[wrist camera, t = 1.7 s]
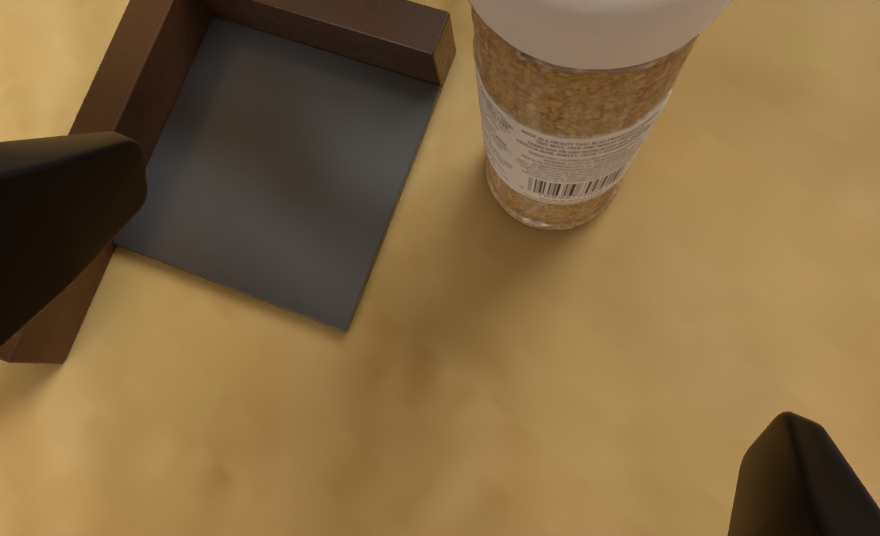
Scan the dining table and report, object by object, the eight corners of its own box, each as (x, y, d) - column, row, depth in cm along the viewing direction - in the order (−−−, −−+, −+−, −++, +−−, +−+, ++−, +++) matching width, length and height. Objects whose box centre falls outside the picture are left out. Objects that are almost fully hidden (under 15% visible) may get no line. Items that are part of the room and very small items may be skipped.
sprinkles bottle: (630, 113, 21) (824, -303, 8) (610, 245, 21) (783, 21, 8) (495, 95, 22) (474, -320, 9) (471, 222, 21) (409, -20, 8)
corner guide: (296, 463, 21) (267, 474, 18) (28, 349, 22) (-31, 346, 20) (456, 51, 22) (449, 11, 20) (196, -26, 24) (161, -71, 22)
